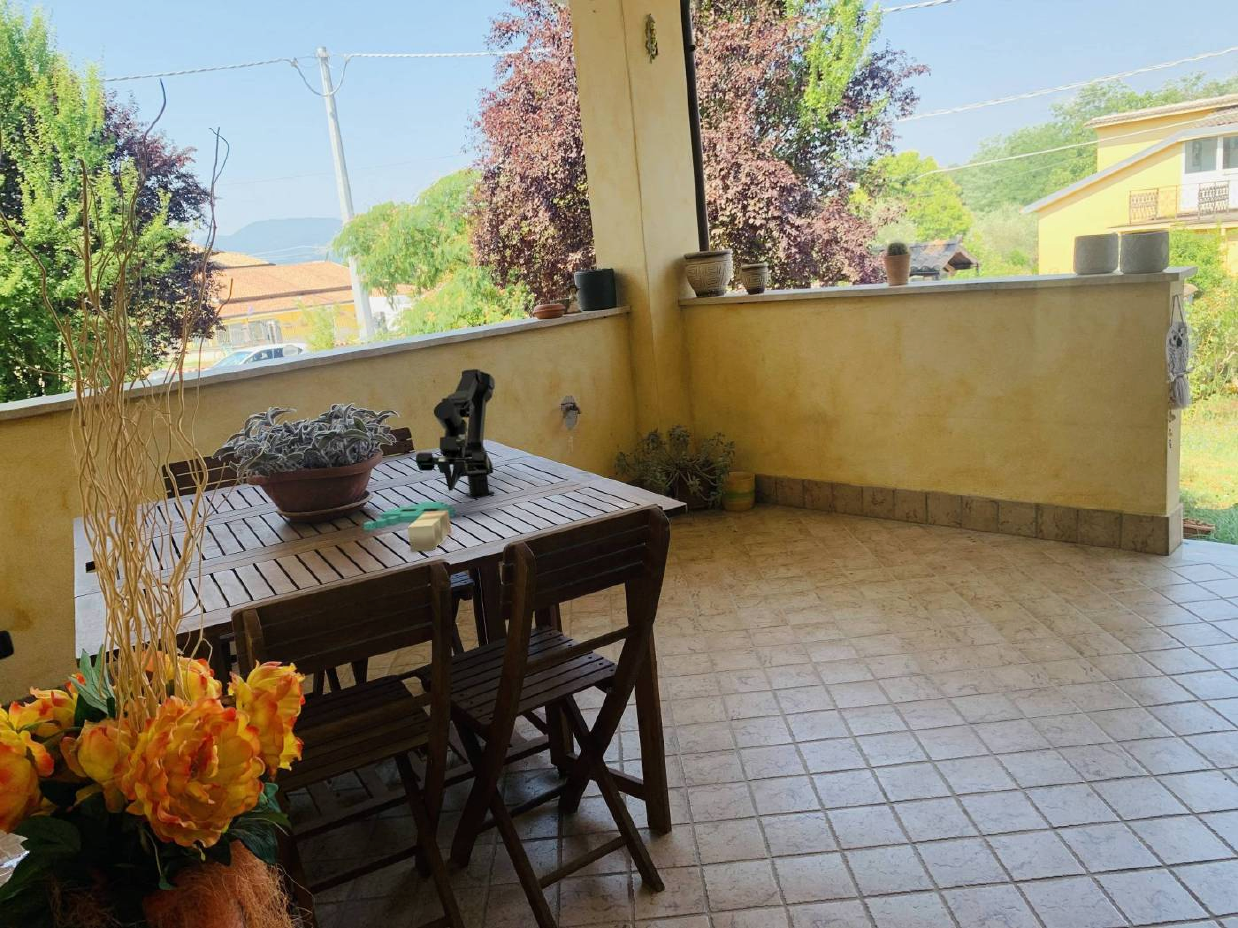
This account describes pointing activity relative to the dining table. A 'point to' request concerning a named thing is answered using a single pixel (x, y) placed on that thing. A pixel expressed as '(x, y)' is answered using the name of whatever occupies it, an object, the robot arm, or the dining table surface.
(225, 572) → the dining table surface
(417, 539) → the maple block
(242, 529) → the dining table surface
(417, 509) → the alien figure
